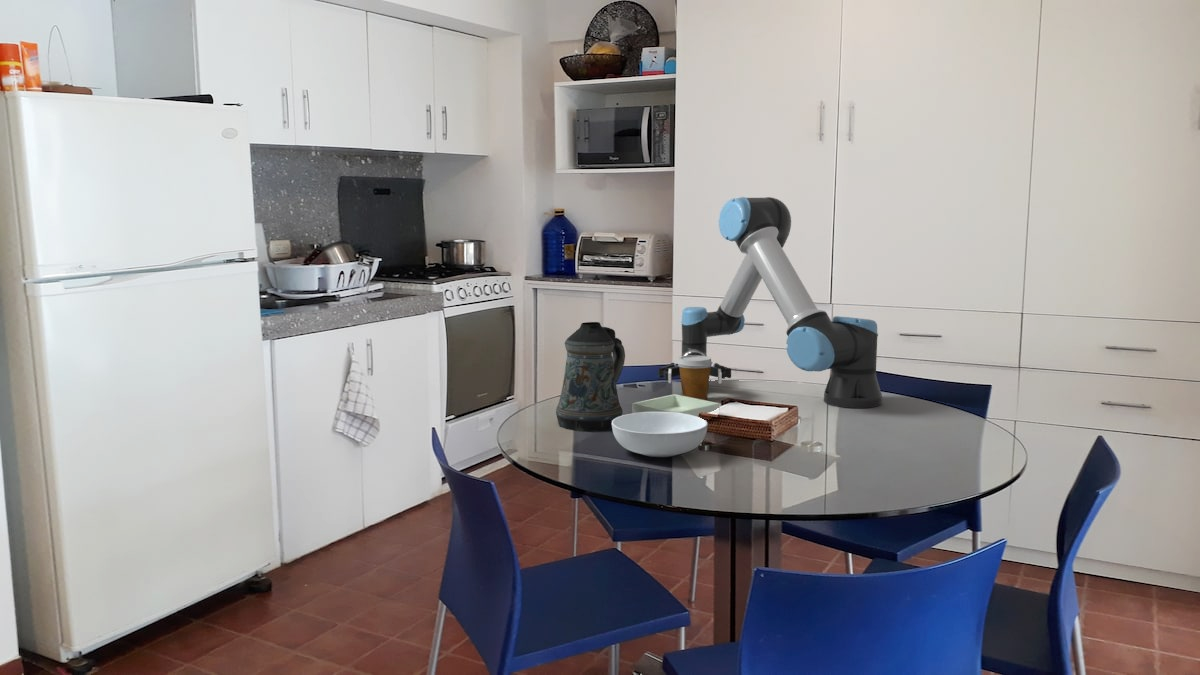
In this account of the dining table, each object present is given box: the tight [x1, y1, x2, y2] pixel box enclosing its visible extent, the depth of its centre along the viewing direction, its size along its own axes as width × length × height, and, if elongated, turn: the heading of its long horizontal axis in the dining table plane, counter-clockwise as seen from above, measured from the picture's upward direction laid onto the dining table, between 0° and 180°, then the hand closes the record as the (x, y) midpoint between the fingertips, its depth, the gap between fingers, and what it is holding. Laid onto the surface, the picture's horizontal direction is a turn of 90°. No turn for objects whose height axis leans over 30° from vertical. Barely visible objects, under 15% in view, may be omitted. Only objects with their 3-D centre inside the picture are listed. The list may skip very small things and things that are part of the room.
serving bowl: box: [611, 412, 709, 458], centre depth 195 cm, size 21×21×7 cm
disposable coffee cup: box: [676, 355, 713, 401], centre depth 244 cm, size 10×10×12 cm
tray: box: [631, 393, 720, 417], centre depth 227 cm, size 16×16×4 cm
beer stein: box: [555, 321, 626, 432], centre depth 221 cm, size 16×19×25 cm
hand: (694, 378), depth 241 cm, fingers open, 13 cm apart
